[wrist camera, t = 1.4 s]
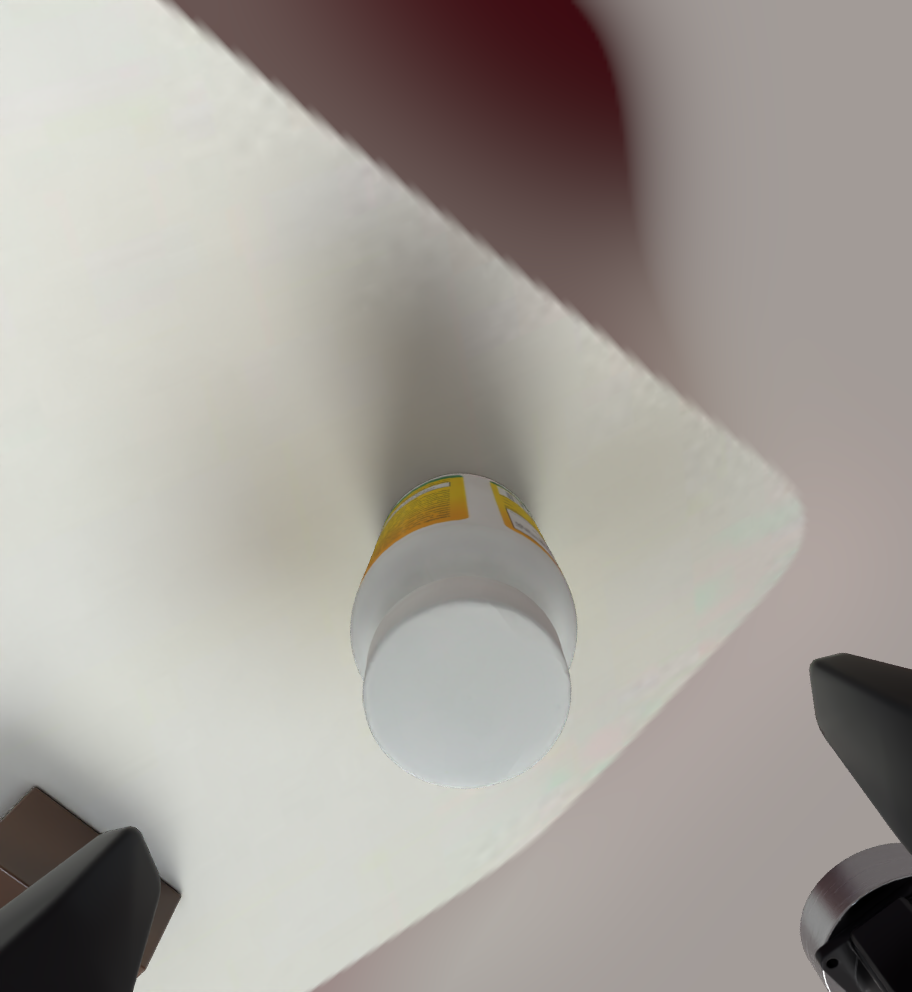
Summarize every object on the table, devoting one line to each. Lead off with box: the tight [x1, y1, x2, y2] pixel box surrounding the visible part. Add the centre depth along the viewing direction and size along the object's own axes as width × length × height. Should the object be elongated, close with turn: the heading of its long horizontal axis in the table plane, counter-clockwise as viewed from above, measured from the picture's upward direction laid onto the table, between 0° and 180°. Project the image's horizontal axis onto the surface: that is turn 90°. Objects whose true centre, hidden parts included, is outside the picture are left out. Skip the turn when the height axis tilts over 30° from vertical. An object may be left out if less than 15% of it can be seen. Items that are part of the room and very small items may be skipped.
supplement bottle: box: [350, 474, 577, 789], centre depth 16 cm, size 5×5×10 cm
